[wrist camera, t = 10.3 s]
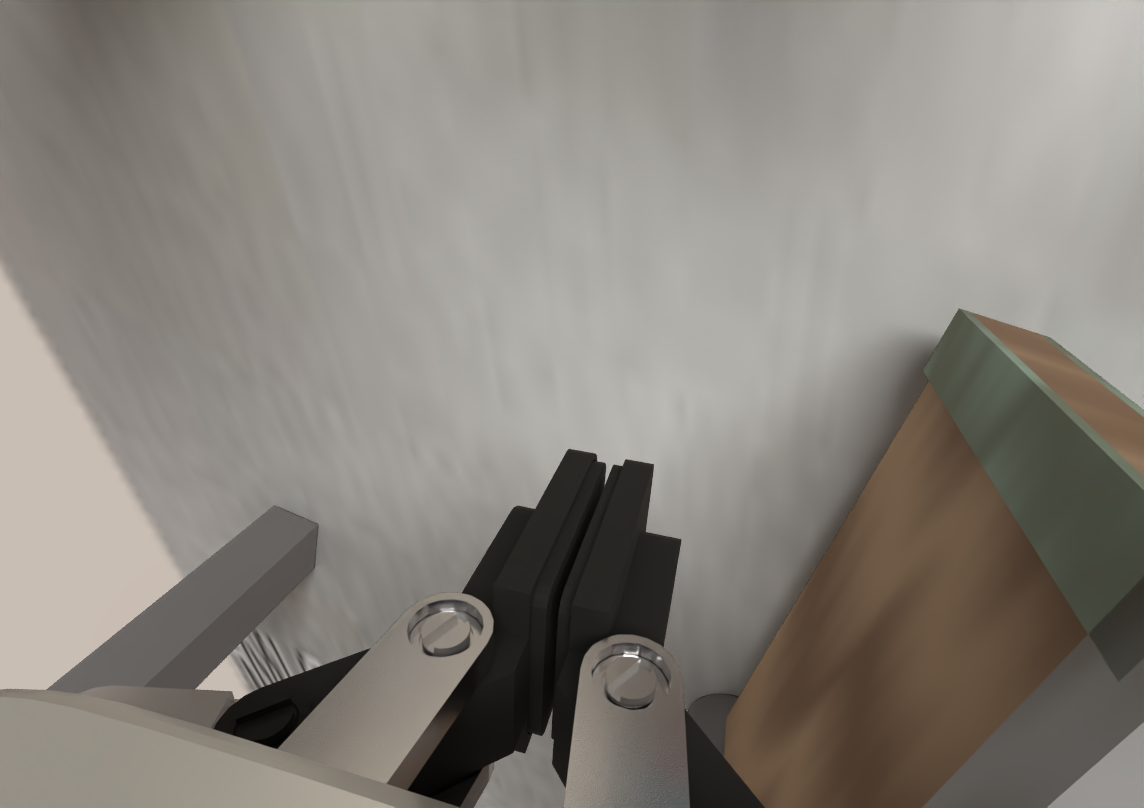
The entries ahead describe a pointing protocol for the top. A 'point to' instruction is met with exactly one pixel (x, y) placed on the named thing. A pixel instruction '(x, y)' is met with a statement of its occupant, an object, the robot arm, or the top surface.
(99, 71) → the top surface
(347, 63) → the top surface
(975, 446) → the gate
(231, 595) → the post
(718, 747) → the hinge post
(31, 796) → the robot arm
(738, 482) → the top surface
